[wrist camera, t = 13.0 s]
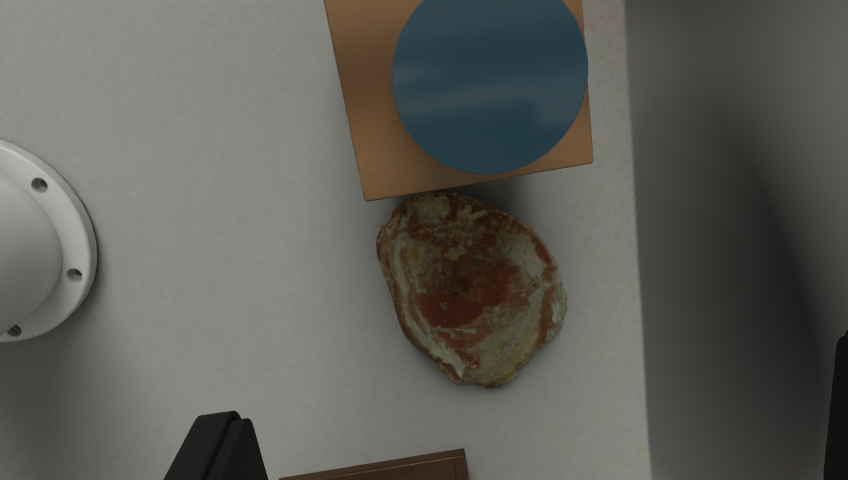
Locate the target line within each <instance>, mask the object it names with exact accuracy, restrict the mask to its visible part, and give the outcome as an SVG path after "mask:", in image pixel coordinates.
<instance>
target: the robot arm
mask: <svg viewBox="0 0 848 480" xmlns="http://www.w3.org/2000/svg"><path fill="white" fill-rule="evenodd" d="M44 180H45V181H44ZM45 182H46V183H47V185H46V183H45ZM96 266H97V244H96V239H95V235H94V231H93V227H92V223H91V221H90V219H89V217H88V215H87V212H86V210H85V208H84V206H83V204H82V202H81V201H80V200H79V198H78V197H77V195H76V194H75V193H74V191H73V190H72V188H71V187H70V185H69V184H68V183H67V182H66V181H65V180H64V179H63V178H62V177H61V176H60V175H59V174H58V173H57V172H56V171H55V170H54V169H53V168H51V167H50V166H48V165H47V164H46V163H44V162H43V161H42V160H40V159H39V158H38V157H36V156H35V155H33V154H31V153H29V152H28V151H26V150H24V149H22V148H20V147H18V146H16V145H14V144H12V143H9V142H6V141H3V140H0V342H16V341H20V340H25V339H30V338H34V337H36V336H39V335H41V334H43V333H46V332H48V331H50V330H52V329H53V328H55V327H56V326H58V325H59V324H60V323H62V322H63V321H65V320H66V319H67V318H68V317H69V316H70V315H71V314H72V313H73V312H75V311H76V310H77V309H78V308H79V306H80V305H81V303H82V302H83V301H84V299H85V298H86V296H87V295H88V293H89V291H90V288H91V286H92V283H93V281H94V278H95V272H96ZM164 480H268V477H267V474H266V470H265V467H264V463H263V459H262V456H261V452H260V448H259V445H258V441H257V438H256V434H255V430H254V427H253V424H252V422H251V420H250V419H248V418H246V419H241V417H240V415H239V414H238V412H236V411H229V412H221V413H214V414H207V415H201V416H198V417H197V419H196V420H195V421H194V423H193V425H192V427H191V429H190V431H189V433H188V435H187V437H186V438H185V440H184V442H183V444H182V446H181V448H180V450H179V452H178V453H177V455H176V457H175V459H174V461H173V463H172V465H171V467H170V468H169V470H168V472H167V474H166V476H165V478H164ZM824 480H848V330H847V332H846V334H845V336H843V337H841V338H840V339H839V340H838V342H837V347H836V356H835V366H834V375H833V385H832V396H831V405H830V415H829V424H828V434H827V444H826V453H825V463H824Z"/></svg>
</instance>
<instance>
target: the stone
mask: <svg viewBox="0 0 848 480" xmlns="http://www.w3.org/2000/svg"><path fill="white" fill-rule="evenodd" d="M376 248H377V256H378V259H379V262H380V265H381V268H382V271H383V274H384V276H385V279H386V281H387V283H388V286H389V290H390V292H391V295H392V298H393V301H394V305H395V309H396V313H397V316H398V320H399V323H400V326H401V328H402V331H403V333H404V334H405V336H406V337H407V339H408V340H409V341H410V342H411V343H412V344H413V345H414V346H415V347H416V348H417V349H419V350H420V351H421V352H422V353H424V354H425V355H426V356H428V357H429V358H431V359H432V360H433V361H435V362H436V363H437V364H438V365H439V367H440V369H441V371H442V372H443V373H446V374H447V375H448V376H449V378H450V379H451V380H452V381H454V382H455V383H456V384H458V383H459V382H460V381H461V380H462V381H466V382H468V383H470V384H471V385H474V384H477V385H481V386H483V387H486V388H496V387H501V386H502V385H505V384H507V383H508V382H510V381H512V380H513V379H514V378H516V375H517V371H518V370H519V369H522V368H523V367H524V366H525V365H526V364H527V363H528V362H529V360H530V358H531V356H532V354H533V352H534V350H535V348H541V346H542V345H544V344H545V343H546V342H550V341H551V340H552V338H553V337H554V336H555V335H556V334H557V333H558V332H559V331H560V330H561V328H562V326H563V319H564V316H565V313H566V311H567V307H566V301H567V297H566V292H565V290H564V289H563V286H562V283H561V279H560V275H559V271H558V266H557V263H556V261H555V259H554V258H553V256H552V255H551V254H550V252H549V250H548V249H547V247H546V246H545V244H544V243H543V241H542V240H541V239H540V238H539V236H538V235H537V234H536V233H535V232H534V231H533V229H531V228H530V227H529V226H527V225H526V224H525V223H524V222H522V221H520V220H519V219H518V218H516V217H515V216H513V215H511V214H509V212H508V211H504V210H502V209H500V208H498V207H495V206H492V205H490V204H487V203H484V202H481V201H480V200H478V199H475V198H472V197H468V196H465V195H461V194H456V193H446V192H424V193H420V194H417V195H414V196H412V197H410V198H409V199H408V200H406V201H405V202H404V203H403V204H402V205H400V206H398V207H397V208H396V209H395V210H394V211H393V212H392V217H391V219H390V221H389V222H388V223H387V224H386V225H384V226H382V227H381V228H380V232H379V234H378V236H377V242H376Z"/></svg>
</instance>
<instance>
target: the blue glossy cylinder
mask: <svg viewBox="0 0 848 480" xmlns="http://www.w3.org/2000/svg"><path fill="white" fill-rule="evenodd" d="M587 79H588V57H587V50H586V45H585V41H584V38H583V34H582V32H581V29H580V27H579V25H578V22H577V21H576V19H575V17H574V15H573V14H572V12H571V10H570V9H569V8H568V7H567V5H566V4H565V3H564V2H563V0H423V1H422V2H421V3H420V4H419V5H418V6H417V7H416V9H415V10H414V11H413V13H412V14H411V15H410V16H409V18H408V19H407V21H406V23H405V24H404V26H403V28H402V30H401V32H400V34H399V37H398V39H397V43H396V47H395V51H394V56H393V63H392V89H393V96H394V100H395V104H396V108H397V111H398V113H399V116H400V118H401V120H402V122H403V124H404V126H405V128H406V130H407V131H408V133H409V134H410V135H411V137H412V138H413V140H414V141H415V142H416V143H417V144H418V145H419V146H420V147H421V148H422V149H423V150H424V151H425V152H426V153H428V154H429V155H430V156H431V157H433V158H434V159H436V160H437V161H439V162H441V163H442V164H444V165H447V166H449V167H451V168H453V169H457V170H460V171H463V172H468V173H474V174H498V173H504V172H509V171H513V170H516V169H519V168H521V167H524V166H526V165H528V164H530V163H532V162H534V161H536V160H538V159H539V158H540V157H542V156H543V155H545V154H546V153H548V152H549V151H550V150H551V149H552V148H553V147H554V146H555V145H557V144H558V142H559V141H560V140H561V139H562V138H563V137H564V136H565V134H566V133H567V131H568V130H569V129H570V127H571V126H572V124H573V122H574V120H575V119H576V117H577V115H578V113H579V110H580V108H581V105H582V102H583V100H584V95H585V91H586V87H587Z"/></svg>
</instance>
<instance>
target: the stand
mask: <svg viewBox="0 0 848 480" xmlns="http://www.w3.org/2000/svg"><path fill="white" fill-rule="evenodd" d="M422 1H423V0H324V5H325V10H326V14H327V19H328V24H329V29H330V34H331V39H332V44H333V49H334V54H335V58H336V63H337V68H338V73H339V78H340V83H341V88H342V93H343V97H344V102H345V107H346V112H347V117H348V122H349V127H350V132H351V137H352V141H353V146H354V151H355V156H356V161H357V166H358V171H359V176H360V180H361V185H362V190H363V195H364V200H365V201H367V202H368V201H374V200H380V199H385V198H391V197H397V196H403V195H409V194H415V193H421V192H427V191H432V190H438V189H444V188H450V187H456V186H462V185H468V184H474V183H479V182H485V181H491V180H497V179H503V178H509V177H515V176H521V175H527V174H532V173H538V172H544V171H550V170H556V169H562V168H568V167H574V166H579V165H585V164H591V163H593V150H592V136H591V122H590V108H589V94H588V80H587V87H586V91H585V95H584V100H583V102H582V105H581V108H580V110H579V113H578V115H577V117H576V119H575V120H574V122H573V124H572V126H571V127H570V129H569V130H568V131H567V133H566V134H565V136H564V137H563V138H562V139H561V140H560V141H559V142H558V144H557V145H555V146H554V147H553V148H552V149H551V150H550V151H549V152H548V153H546V154H545V155H543V156H542V157H540V158H539V159H538V160H536V161H534V162H532V163H530V164H528V165H526V166H524V167H521V168H519V169H516V170H513V171H509V172H504V173H498V174H474V173H468V172H463V171H460V170H457V169H453V168H451V167H449V166H447V165H444V164H442V163H441V162H439V161H437V160H436V159H434V158H433V157H431V156H430V155H429V154H428V153H426V152H425V151H424V150H423V149H422V148H421V147H420V146H419V145H418V144H417V143H416V142H415V141H414V140H413V138H412V137H411V135H410V134H409V133H408V131H407V130H406V128H405V126H404V124H403V122H402V120H401V118H400V116H399V113H398V111H397V108H396V104H395V100H394V96H393V89H392V63H393V56H394V51H395V47H396V43H397V39H398V37H399V34H400V32H401V30H402V28H403V26H404V24H405V23H406V21H407V19H408V18H409V16H410V15H411V14H412V13H413V11H414V10H415V9H416V7H417V6H418V5H419V4H420V3H421V2H422ZM563 2H564V3H565V4H566V5H567V7H568V8H569V9H570V10H571V12H572V14H573V15H574V17H575V19H576V21H577V22H578V25H579V27H580V29H581V32H582V34H583V38H584V24H583V10H582V0H563ZM584 41H585V38H584Z"/></svg>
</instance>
